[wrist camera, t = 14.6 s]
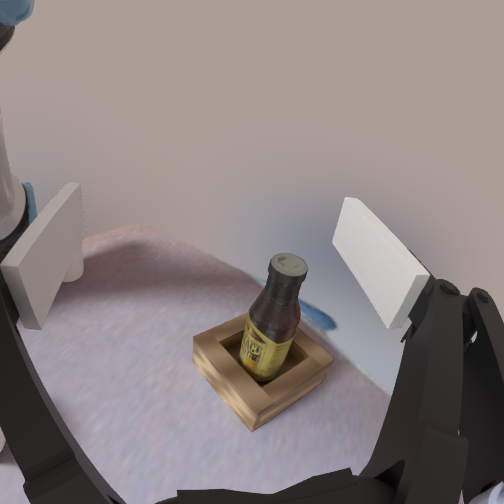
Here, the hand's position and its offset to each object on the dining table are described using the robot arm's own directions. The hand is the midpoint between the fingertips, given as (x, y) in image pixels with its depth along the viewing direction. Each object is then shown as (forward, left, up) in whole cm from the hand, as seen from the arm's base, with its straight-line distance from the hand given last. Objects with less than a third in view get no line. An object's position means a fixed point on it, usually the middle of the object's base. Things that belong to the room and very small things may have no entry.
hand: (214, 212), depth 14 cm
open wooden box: (-6, +14, -32) cm, 35 cm away
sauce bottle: (-6, +14, -31) cm, 35 cm away
